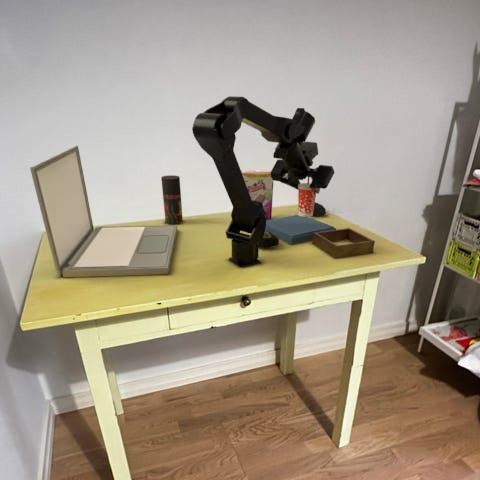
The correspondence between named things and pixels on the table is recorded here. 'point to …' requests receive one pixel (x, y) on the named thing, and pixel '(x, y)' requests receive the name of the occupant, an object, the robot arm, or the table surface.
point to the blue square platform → (295, 228)
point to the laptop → (82, 232)
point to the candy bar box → (260, 188)
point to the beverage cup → (306, 199)
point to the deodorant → (172, 199)
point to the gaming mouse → (318, 210)
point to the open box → (357, 246)
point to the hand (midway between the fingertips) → (309, 190)
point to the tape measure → (268, 240)
